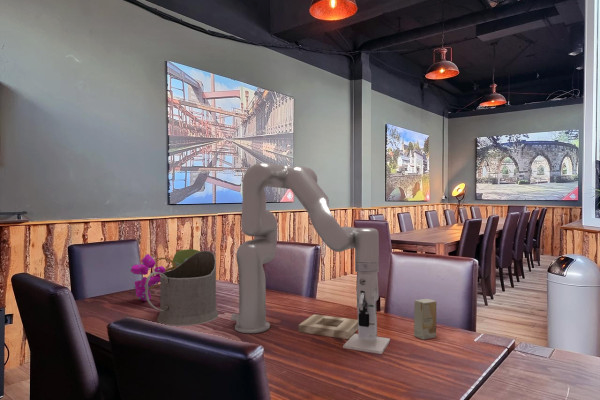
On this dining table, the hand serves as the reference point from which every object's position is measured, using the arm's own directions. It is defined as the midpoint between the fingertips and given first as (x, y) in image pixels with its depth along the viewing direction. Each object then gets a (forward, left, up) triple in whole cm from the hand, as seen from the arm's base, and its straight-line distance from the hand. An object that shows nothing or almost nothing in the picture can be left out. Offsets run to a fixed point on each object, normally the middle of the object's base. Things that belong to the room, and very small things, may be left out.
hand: (367, 322), depth 126 cm
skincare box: (+16, +15, -7) cm, 23 cm away
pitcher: (-73, -3, -7) cm, 73 cm away
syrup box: (0, 0, -5) cm, 5 cm away
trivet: (0, 0, -7) cm, 7 cm away
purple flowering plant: (-99, +21, -7) cm, 102 cm away
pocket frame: (-16, +9, -7) cm, 20 cm away
